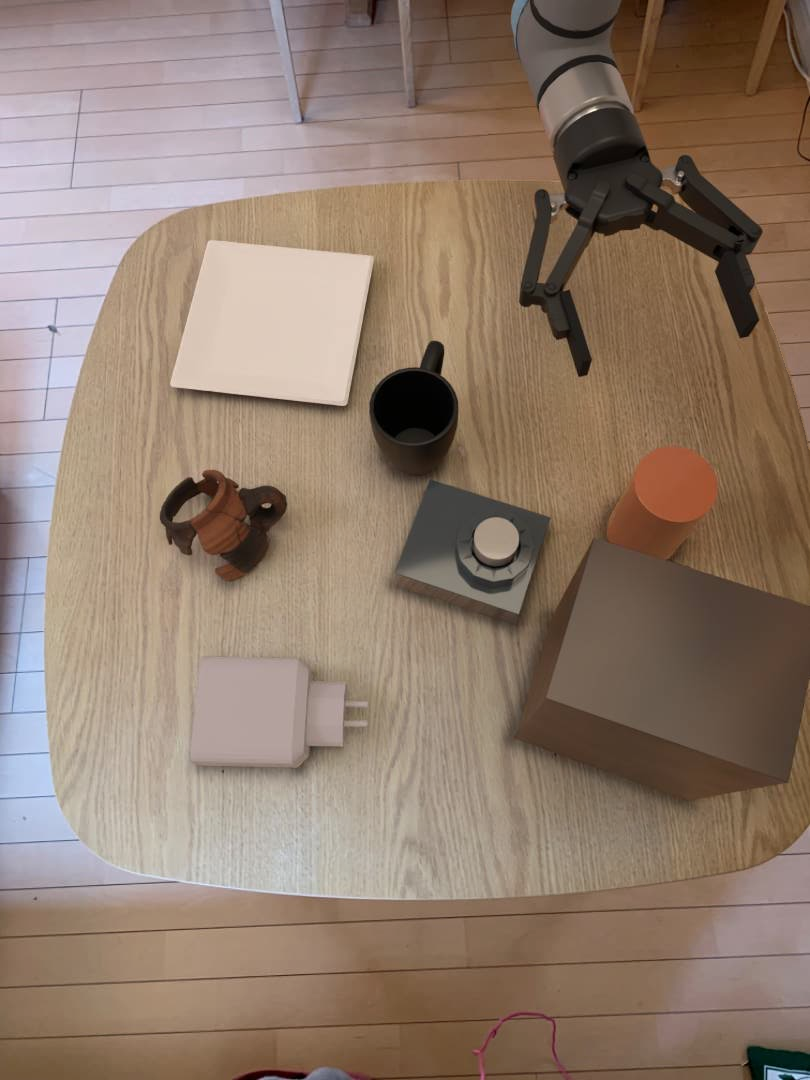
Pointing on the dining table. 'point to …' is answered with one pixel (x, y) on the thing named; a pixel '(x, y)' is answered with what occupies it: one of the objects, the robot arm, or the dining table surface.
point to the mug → (415, 414)
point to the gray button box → (468, 553)
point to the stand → (670, 676)
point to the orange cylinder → (663, 502)
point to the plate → (274, 322)
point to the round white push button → (495, 541)
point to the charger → (265, 712)
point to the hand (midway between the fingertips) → (667, 349)
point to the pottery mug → (225, 521)
